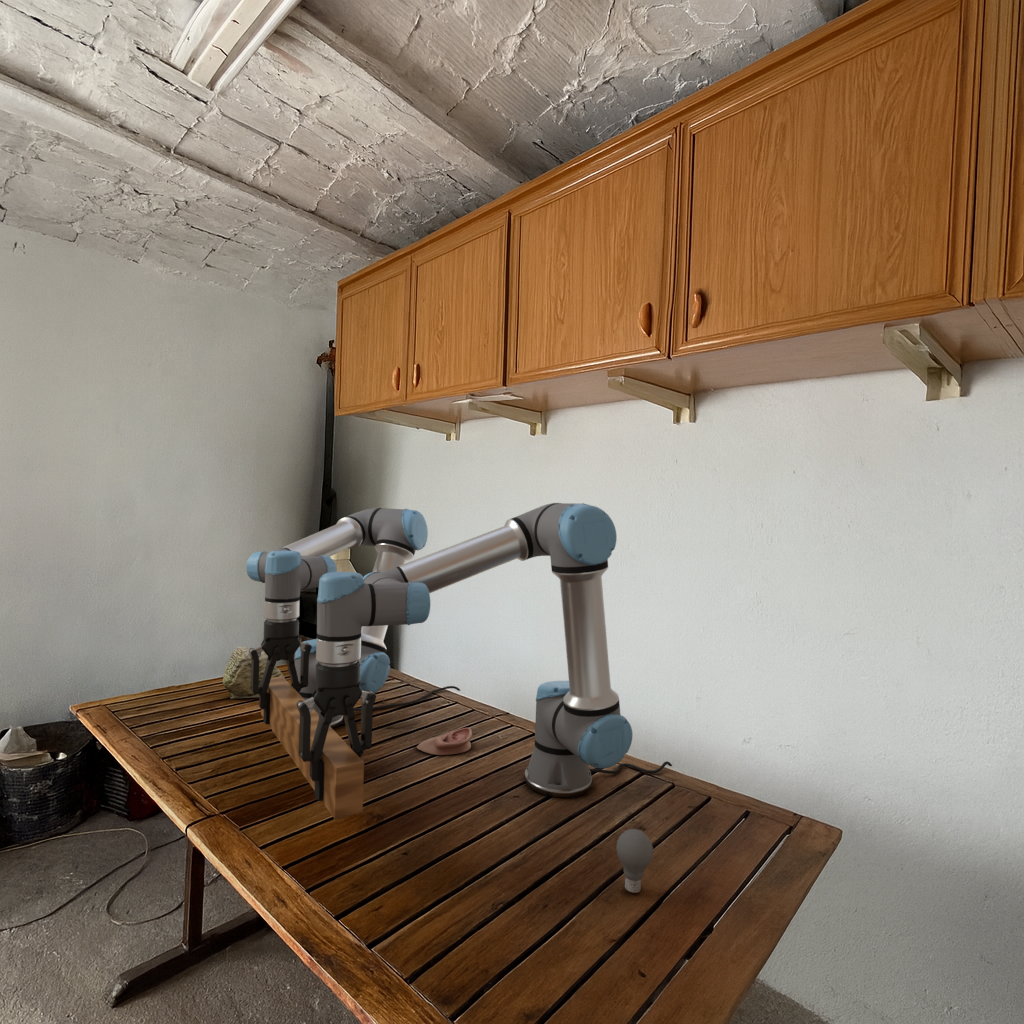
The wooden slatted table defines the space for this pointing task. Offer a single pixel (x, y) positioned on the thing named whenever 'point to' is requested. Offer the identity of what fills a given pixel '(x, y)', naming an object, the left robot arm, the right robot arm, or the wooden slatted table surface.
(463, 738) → the anatomical model
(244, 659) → the fossil
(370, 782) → the wooden slatted table surface
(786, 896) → the wooden slatted table surface
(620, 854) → the light bulb
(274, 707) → the post
